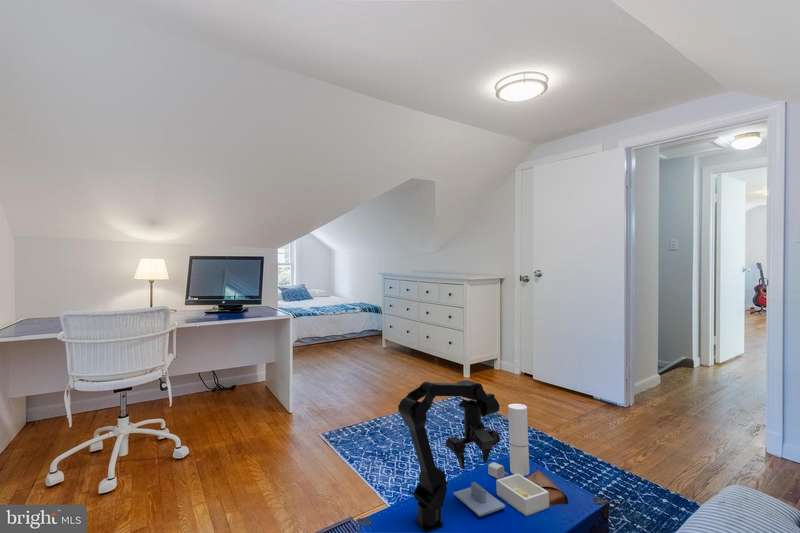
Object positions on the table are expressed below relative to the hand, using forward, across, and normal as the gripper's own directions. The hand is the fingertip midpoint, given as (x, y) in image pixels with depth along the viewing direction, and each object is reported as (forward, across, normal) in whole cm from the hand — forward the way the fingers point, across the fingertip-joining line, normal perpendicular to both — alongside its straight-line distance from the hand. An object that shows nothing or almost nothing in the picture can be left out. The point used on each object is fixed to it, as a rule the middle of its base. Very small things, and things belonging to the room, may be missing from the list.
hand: (474, 465), depth 129 cm
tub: (+12, +15, -6) cm, 20 cm away
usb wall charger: (+12, +18, +10) cm, 24 cm away
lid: (+12, 0, -1) cm, 12 cm away
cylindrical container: (+12, +28, +10) cm, 33 cm away
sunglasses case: (+13, +26, -5) cm, 29 cm away
